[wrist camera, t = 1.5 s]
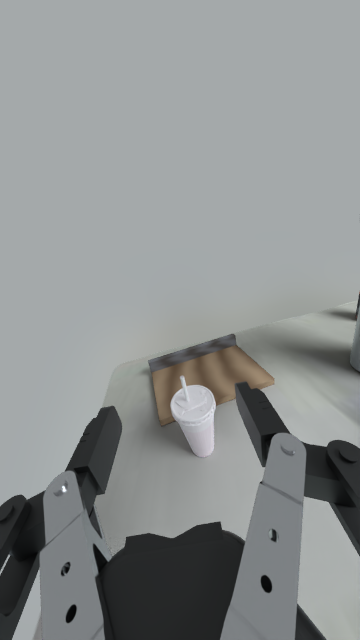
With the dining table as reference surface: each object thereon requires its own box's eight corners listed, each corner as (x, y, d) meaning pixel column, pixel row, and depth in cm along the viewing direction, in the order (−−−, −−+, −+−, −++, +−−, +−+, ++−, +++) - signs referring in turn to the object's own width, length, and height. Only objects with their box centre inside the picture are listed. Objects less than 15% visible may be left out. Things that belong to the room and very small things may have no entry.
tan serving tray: (233, 347, 52) (232, 333, 51) (274, 383, 38) (273, 366, 36) (152, 373, 49) (148, 359, 47) (161, 426, 34) (155, 408, 32)
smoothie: (184, 427, 33) (166, 364, 27) (220, 425, 32) (208, 359, 27) (182, 468, 27) (158, 398, 22) (225, 466, 26) (212, 392, 21)
